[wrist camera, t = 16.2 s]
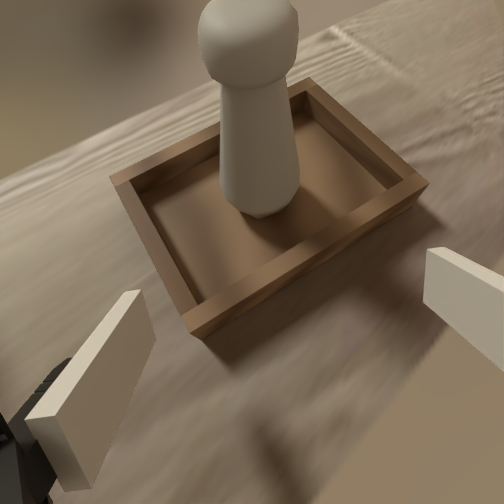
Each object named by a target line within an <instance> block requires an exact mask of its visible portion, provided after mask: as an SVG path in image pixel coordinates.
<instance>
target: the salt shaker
mask: <svg viewBox="0 0 504 504" xmlns="http://www.w3.org/2000/svg"><path fill="white" fill-rule="evenodd" d="M298 33H299V26H298V15H297V11H296V10H295V9H294V8H293V6H292V5H291V4H290V3H289V1H288V0H212V1H211V2H210V3H208V4H207V5H206V7H205V9H204V11H203V12H202V14H201V17H200V21H199V25H198V39H199V40H198V41H199V47H200V51H201V55H202V58H203V61H204V63H205V66H206V68H207V70H208V72H209V74H210V76H211V77H212V79H214V80H216V81H217V82H219V83H220V93H221V109H220V180H219V183H220V186H221V188H222V191H223V193H224V196H225V198H226V200H227V201H228V202H229V203H230V204H232V205H233V206H234V207H235V208H237V209H238V210H239V211H241V212H244V213H246V214H248V215H250V216H252V217H254V218H256V219H261V218H264V217H267V216H270V215H272V214H275V213H278V212H280V211H282V210H283V209H284V208H285V207H286V206H287V205H288V204H289V203H290V201H291V200H292V198H293V197H294V195H295V193H296V192H297V190H298V188H299V182H300V166H299V160H298V154H297V147H296V141H295V134H294V128H293V122H292V115H291V109H290V103H289V96H288V90H287V83H286V77H285V75H286V74H287V73H288V71H289V70H290V69H291V67H292V66H293V64H294V62H295V59H296V53H297V45H298Z"/></svg>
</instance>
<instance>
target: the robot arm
mask: <svg viewBox="0 0 504 504" xmlns="http://www.w3.org/2000/svg"><path fill="white" fill-rule="evenodd" d="M423 303H424V304H426V305H427V306H428V307H429V308H430V309H431V310H433V311H434V312H435V313H436V314H437V315H438V316H440V317H441V318H442V319H443V320H444V321H445V322H446V323H448V324H449V325H450V326H451V327H452V328H453V329H455V330H456V331H457V332H458V333H459V334H461V335H462V336H463V337H464V338H465V339H466V340H467V341H468V342H470V343H471V344H472V345H473V346H474V347H475V348H477V349H478V350H479V351H480V352H481V353H482V354H484V355H485V356H486V357H487V358H488V359H489V360H490V361H492V362H493V363H494V364H495V365H496V366H497V367H499V368H500V369H501V370H502V371H503V372H504V277H503V276H501V275H499V274H497V273H495V272H493V271H491V270H489V269H487V268H485V267H483V266H481V265H479V264H477V263H475V262H473V261H471V260H469V259H467V258H465V257H463V256H461V255H459V254H457V253H455V252H453V251H451V250H449V249H447V248H445V247H439V248H432V249H427V256H426V268H425V281H424V294H423ZM155 341H156V337H155V333H154V330H153V327H152V323H151V320H150V317H149V313H148V310H147V307H146V304H145V300H144V297H143V294H142V290H133V291H126V292H124V293H123V295H122V296H121V297H120V298H119V300H118V301H117V302H116V303H115V305H114V306H113V307H112V309H111V310H110V311H109V312H108V314H107V315H106V316H105V318H104V319H103V320H102V321H101V323H100V324H99V325H98V326H97V328H96V329H95V330H94V332H93V333H92V334H91V335H90V337H89V338H88V339H87V340H86V342H85V343H84V344H83V346H82V347H81V348H80V349H79V351H78V352H77V353H76V354H75V356H74V357H72V358H67V359H66V360H64V361H63V362H62V363H61V364H59V365H58V366H57V367H55V368H54V369H53V370H52V371H51V372H50V374H49V375H48V376H47V377H46V378H45V380H44V381H43V384H40V386H39V387H38V388H37V389H36V390H35V393H34V394H32V395H31V396H30V398H29V399H28V400H27V401H26V402H25V404H24V405H23V406H22V407H21V408H20V410H19V411H18V412H17V413H16V414H15V416H14V417H13V418H12V419H11V420H10V422H9V423H8V424H7V423H6V421H5V420H4V418H3V416H2V415H1V413H0V504H53V501H52V499H51V498H50V496H49V494H48V493H49V491H50V489H51V488H52V486H53V484H54V482H55V480H56V478H57V479H58V481H59V483H60V485H61V487H62V488H63V490H64V492H68V491H76V490H83V489H91V488H92V486H93V484H94V482H95V479H96V477H97V475H98V472H99V470H100V468H101V466H102V463H103V461H104V459H105V456H106V454H107V452H108V449H109V447H110V445H111V442H112V440H113V438H114V436H115V433H116V431H117V429H118V426H119V424H120V422H121V419H122V417H123V415H124V412H125V410H126V408H127V405H128V403H129V401H130V399H131V396H132V394H133V392H134V389H135V387H136V385H137V382H138V380H139V378H140V375H141V373H142V371H143V368H144V366H145V364H146V362H147V359H148V357H149V355H150V352H151V350H152V348H153V345H154V343H155Z"/></svg>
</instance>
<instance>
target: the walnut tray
mask: <svg viewBox="0 0 504 504" xmlns="http://www.w3.org/2000/svg"><path fill="white" fill-rule="evenodd" d="M287 90H288V96H289V103H290V109H291V115H292V122H293V128H294V134H295V141H296V147H297V154H298V160H299V166H300V182H299V188H298V190H297V192H296V193H295V195H294V197H293V198H292V200H291V201H290V203H289V204H288V205H287V206H286V207H285V208H284V209H283V210H282V211H280V212H278V213H275V214H272V215H270V216H267V217H264V218H261V219H256V218H254V217H252V216H250V215H248V214H246V213H244V212H241V211H239V210H238V209H237V208H235V207H234V206H233V205H232V204H230V203H229V202H228V201H227V200H226V198H225V196H224V193H223V191H222V188H221V186H220V183H219V180H220V122H218V123H216V124H214V125H212V126H210V127H208V128H206V129H204V130H202V131H200V132H198V133H196V134H194V135H192V136H190V137H188V138H186V139H184V140H182V141H180V142H178V143H176V144H174V145H172V146H170V147H168V148H166V149H164V150H162V151H160V152H158V153H156V154H154V155H152V156H150V157H148V158H146V159H144V160H142V161H140V162H138V163H136V164H134V165H132V166H130V167H128V168H126V169H124V170H122V171H120V172H118V173H116V174H114V175H112V176H109V178H110V180H111V182H112V184H113V185H114V187H115V189H116V191H117V193H118V195H119V197H120V199H121V201H122V203H123V205H124V207H125V209H126V211H127V213H128V215H129V217H130V219H131V221H132V222H133V224H134V226H135V228H136V230H137V232H138V234H139V236H140V238H141V240H142V242H143V244H144V246H145V248H146V250H147V252H148V254H149V256H150V258H151V259H152V261H153V263H154V265H155V267H156V269H157V271H158V273H159V275H160V277H161V279H162V281H163V283H164V285H165V287H166V289H167V291H168V293H169V295H170V296H171V298H172V300H173V302H174V304H175V306H176V308H177V310H178V312H179V314H180V316H181V318H182V320H183V322H184V324H185V326H186V328H187V330H188V332H189V333H190V334H192V335H193V336H195V337H197V338H198V339H200V340H202V339H203V338H205V337H207V336H208V335H210V334H211V333H213V332H214V331H216V330H218V329H219V328H221V327H222V326H224V325H226V324H227V323H229V322H230V321H232V320H233V319H235V318H237V317H238V316H240V315H241V314H243V313H244V312H246V311H248V310H249V309H251V308H252V307H254V306H256V305H257V304H259V303H260V302H262V301H263V300H265V299H267V298H268V297H270V296H271V295H273V294H274V293H276V292H278V291H279V290H281V289H282V288H284V287H286V286H287V285H289V284H290V283H292V282H293V281H295V280H297V279H298V278H300V277H301V276H303V275H304V274H306V273H308V272H309V271H311V270H312V269H314V268H316V267H317V266H319V265H320V264H322V263H323V262H325V261H327V260H328V259H330V258H331V257H333V256H334V255H336V254H338V253H339V252H341V251H342V250H344V249H346V248H347V247H349V246H350V245H352V244H353V243H355V242H357V241H358V240H360V239H361V238H363V237H364V236H366V235H368V234H369V233H371V232H372V231H374V230H376V229H377V228H379V227H380V226H382V225H383V224H385V223H387V222H388V221H390V220H391V219H393V218H394V217H396V216H398V215H399V214H401V213H402V212H404V211H406V210H407V209H409V208H410V207H412V205H413V204H414V203H415V201H416V200H417V199H418V198H419V196H420V195H421V194H422V192H423V191H424V190H425V189H426V187H427V186H428V185H429V182H428V181H427V180H426V179H424V178H423V177H422V176H421V175H420V174H419V173H418V172H416V171H415V170H414V169H413V168H412V167H411V166H410V165H409V164H407V163H406V162H405V161H404V160H403V159H402V158H401V157H399V156H398V155H397V154H396V153H395V152H394V151H393V150H391V149H390V148H389V147H388V146H387V145H386V144H385V143H384V142H382V141H381V140H380V139H379V138H378V137H377V136H376V135H374V134H373V133H372V132H371V131H370V130H369V129H368V128H366V127H365V126H364V125H363V124H362V123H361V122H360V121H359V120H357V119H356V118H355V117H354V116H353V115H352V114H351V113H349V112H348V111H347V110H346V109H345V108H344V107H343V106H341V105H340V104H339V103H338V102H337V101H336V100H335V99H333V98H332V97H331V96H330V95H329V94H328V93H327V92H326V91H324V90H323V89H322V88H321V87H320V86H319V85H318V84H316V83H315V82H314V81H313V80H312V79H311V78H310V77H308V78H306V79H304V80H302V81H300V82H298V83H296V84H294V85H292V86H290V87H288V88H287Z"/></svg>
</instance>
